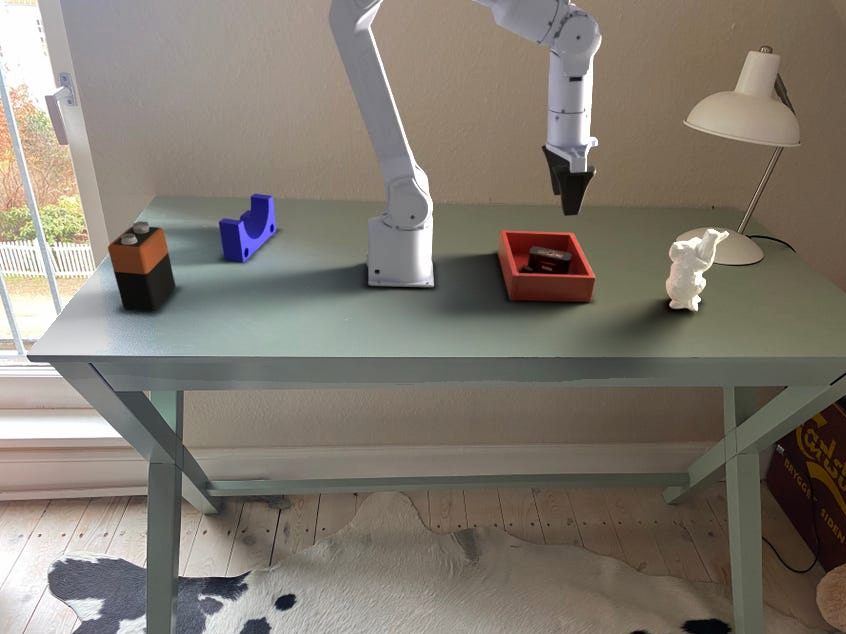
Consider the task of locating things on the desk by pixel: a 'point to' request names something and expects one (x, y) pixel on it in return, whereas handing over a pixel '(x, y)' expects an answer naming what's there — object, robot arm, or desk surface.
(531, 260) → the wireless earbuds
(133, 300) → the battery
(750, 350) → the desk surface
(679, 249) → the koala figurine
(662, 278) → the desk surface
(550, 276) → the red open box
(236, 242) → the blue pipe saddle mount
